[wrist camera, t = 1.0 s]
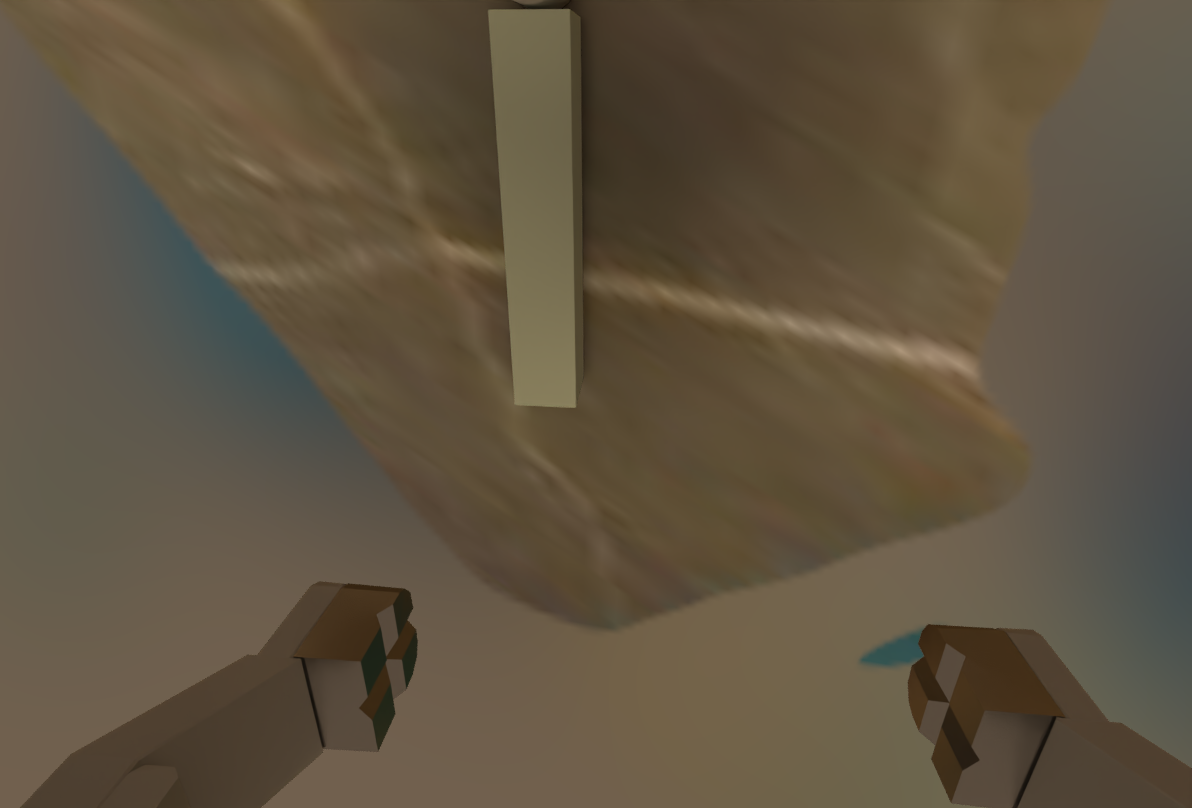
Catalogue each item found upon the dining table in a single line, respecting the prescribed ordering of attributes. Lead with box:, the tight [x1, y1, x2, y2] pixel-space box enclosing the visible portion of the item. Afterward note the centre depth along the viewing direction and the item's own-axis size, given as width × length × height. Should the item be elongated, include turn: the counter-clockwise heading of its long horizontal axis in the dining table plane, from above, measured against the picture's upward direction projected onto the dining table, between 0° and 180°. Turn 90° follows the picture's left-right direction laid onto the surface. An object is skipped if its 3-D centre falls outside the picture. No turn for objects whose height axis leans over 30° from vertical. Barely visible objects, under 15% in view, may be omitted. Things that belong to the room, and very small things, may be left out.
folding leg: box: [488, 0, 584, 408], centre depth 31 cm, size 23×4×5 cm, turn 0°
